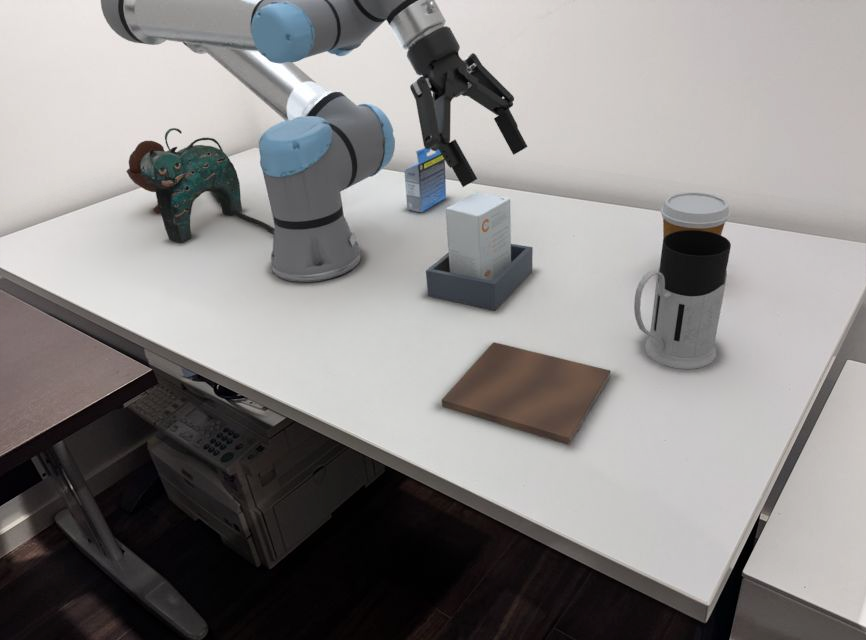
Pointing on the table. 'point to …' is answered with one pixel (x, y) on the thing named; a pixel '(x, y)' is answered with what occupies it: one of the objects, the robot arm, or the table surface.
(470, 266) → the small box
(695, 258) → the glass holder
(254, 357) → the table surface
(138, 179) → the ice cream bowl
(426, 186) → the label tape box
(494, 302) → the bin
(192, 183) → the ceramic cat
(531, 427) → the board
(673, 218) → the disposable coffee cup
